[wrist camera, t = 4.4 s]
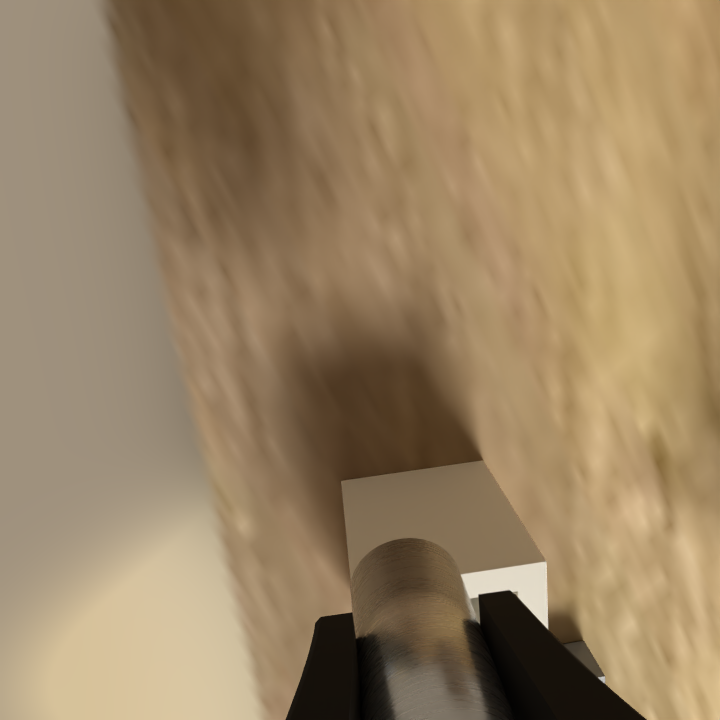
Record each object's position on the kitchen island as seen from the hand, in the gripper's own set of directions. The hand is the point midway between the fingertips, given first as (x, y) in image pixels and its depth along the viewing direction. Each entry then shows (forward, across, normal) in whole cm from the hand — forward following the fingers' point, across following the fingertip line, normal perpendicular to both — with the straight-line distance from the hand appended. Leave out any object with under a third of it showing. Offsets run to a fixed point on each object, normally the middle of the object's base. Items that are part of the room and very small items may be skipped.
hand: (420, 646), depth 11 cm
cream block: (+10, -1, +4) cm, 11 cm away
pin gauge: (+2, 0, 0) cm, 2 cm away
